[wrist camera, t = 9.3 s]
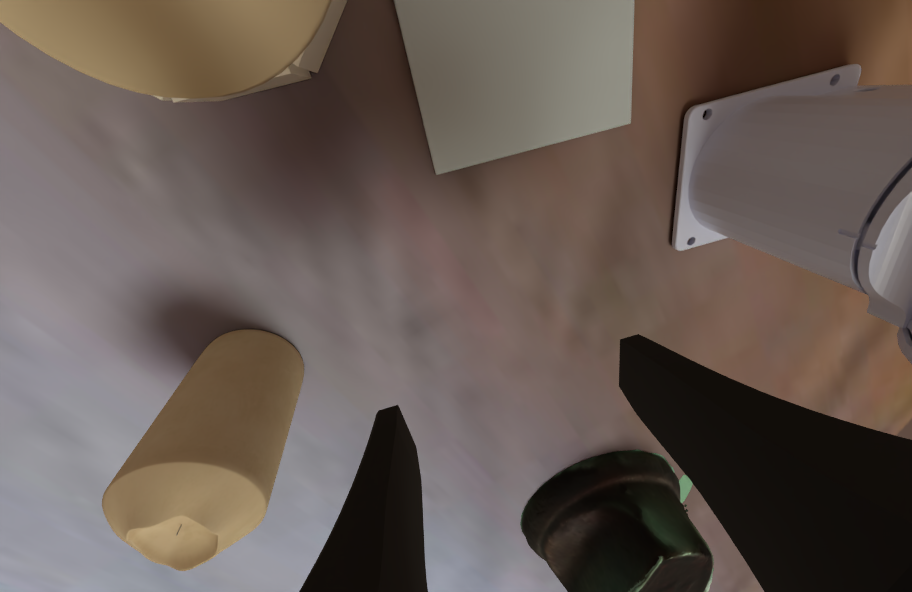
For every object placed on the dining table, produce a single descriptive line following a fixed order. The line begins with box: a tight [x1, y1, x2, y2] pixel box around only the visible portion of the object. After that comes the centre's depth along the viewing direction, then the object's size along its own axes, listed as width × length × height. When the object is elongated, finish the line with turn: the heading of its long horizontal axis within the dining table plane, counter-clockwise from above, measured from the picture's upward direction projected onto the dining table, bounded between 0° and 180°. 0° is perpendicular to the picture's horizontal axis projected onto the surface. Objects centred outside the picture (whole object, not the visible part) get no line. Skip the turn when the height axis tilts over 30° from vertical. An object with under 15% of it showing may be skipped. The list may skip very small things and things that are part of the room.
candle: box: [102, 329, 304, 571], centre depth 17 cm, size 6×6×10 cm
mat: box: [394, 0, 634, 175], centre depth 15 cm, size 10×10×1 cm
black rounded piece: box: [520, 450, 714, 592], centre depth 32 cm, size 20×20×9 cm
